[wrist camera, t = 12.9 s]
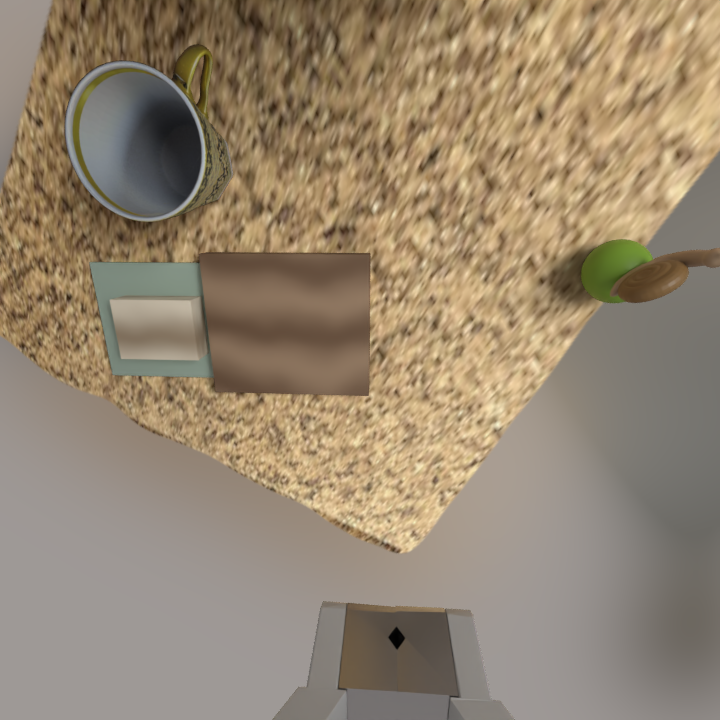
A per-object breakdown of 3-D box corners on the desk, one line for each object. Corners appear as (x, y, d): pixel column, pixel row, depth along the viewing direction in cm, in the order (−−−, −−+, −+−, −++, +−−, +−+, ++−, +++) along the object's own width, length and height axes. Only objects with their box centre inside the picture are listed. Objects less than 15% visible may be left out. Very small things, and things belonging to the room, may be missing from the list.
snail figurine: (652, 268, 38) (765, 288, 27) (587, 308, 39) (668, 343, 28) (625, 218, 37) (732, 217, 25) (560, 262, 38) (632, 278, 27)
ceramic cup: (215, 243, 40) (161, 250, 30) (126, 174, 38) (40, 158, 29) (291, 125, 36) (257, 90, 27) (196, 42, 35) (124, -25, 25)
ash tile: (125, 295, 42) (109, 299, 39) (201, 296, 41) (190, 300, 39) (135, 351, 43) (121, 359, 41) (208, 352, 43) (198, 360, 41)
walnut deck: (207, 252, 40) (198, 253, 38) (370, 253, 39) (369, 254, 37) (222, 384, 45) (215, 391, 43) (369, 388, 44) (368, 395, 42)
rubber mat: (92, 262, 41) (89, 262, 41) (208, 262, 40) (206, 263, 40) (115, 373, 45) (112, 375, 45) (221, 376, 44) (220, 377, 44)
